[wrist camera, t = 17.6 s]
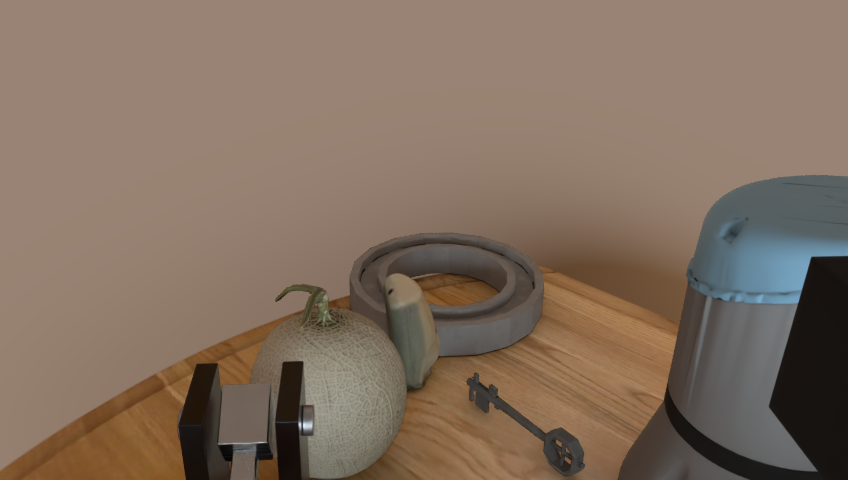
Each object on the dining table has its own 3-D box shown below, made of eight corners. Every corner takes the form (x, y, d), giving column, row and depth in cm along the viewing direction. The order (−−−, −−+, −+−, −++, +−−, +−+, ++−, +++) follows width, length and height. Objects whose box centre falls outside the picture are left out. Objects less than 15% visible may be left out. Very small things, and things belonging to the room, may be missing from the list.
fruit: (343, 386, 62) (339, 218, 55) (434, 467, 54) (443, 282, 47) (223, 440, 56) (203, 258, 49) (306, 539, 48) (295, 339, 41)
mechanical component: (382, 248, 84) (382, 223, 82) (551, 271, 80) (553, 245, 79) (322, 336, 68) (320, 307, 67) (528, 370, 64) (531, 340, 63)
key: (585, 483, 53) (591, 446, 51) (575, 489, 52) (581, 452, 51) (472, 394, 61) (474, 360, 60) (462, 399, 61) (464, 365, 59)
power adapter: (359, 366, 64) (358, 282, 60) (405, 342, 67) (407, 262, 64) (405, 398, 60) (407, 311, 57) (451, 372, 64) (456, 288, 60)
